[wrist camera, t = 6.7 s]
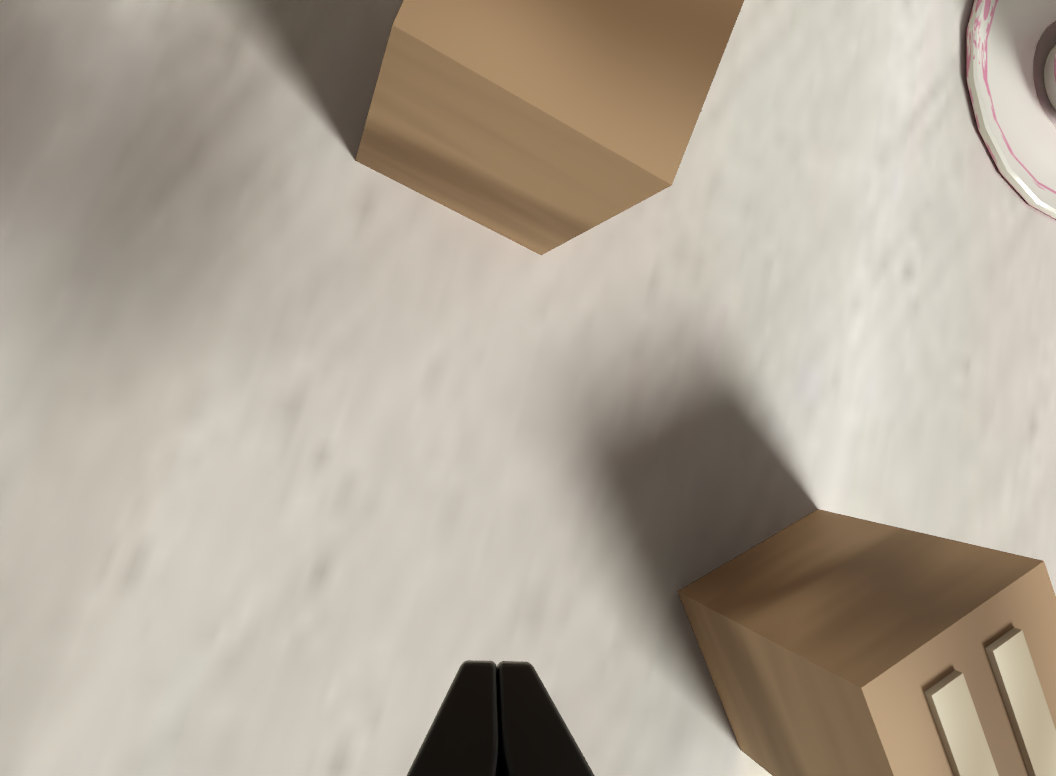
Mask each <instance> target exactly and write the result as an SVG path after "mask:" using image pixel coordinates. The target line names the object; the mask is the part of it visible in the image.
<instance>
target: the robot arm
mask: <svg viewBox="0 0 1056 776" xmlns="http://www.w3.org/2000/svg"><path fill="white" fill-rule="evenodd" d="M407 776H594V774H593V772H592V770H591V769H590V767H589V765H588V763H587V761H586V760H585V758H584V756H583V754H582V753H581V751H580V749H579V747H578V745H577V744H576V742H575V740H574V738H573V737H572V735H571V733H570V731H569V729H568V728H567V726H566V724H565V722H564V721H563V719H562V717H561V715H560V713H559V712H558V710H557V708H556V706H555V704H554V703H553V701H552V699H551V697H550V696H549V694H548V692H547V690H546V688H545V687H544V685H543V683H542V681H541V680H540V678H539V676H538V674H537V672H536V671H535V669H534V667H533V666H532V665H531V664H530V663H528V662H515V661H502V662H500V663H499V664H498V665H497V667H496V664H495V663H494V662H493V661H465V662H463V664H462V665H461V666H460V668H459V670H458V672H457V674H456V676H455V678H454V680H453V682H452V684H451V686H450V688H449V691H448V693H447V695H446V697H445V699H444V701H443V703H442V705H441V707H440V709H439V711H438V713H437V715H436V717H435V719H434V721H433V723H432V725H431V727H430V729H429V731H428V733H427V735H426V737H425V739H424V742H423V744H422V746H421V748H420V750H419V752H418V754H417V756H416V758H415V760H414V762H413V764H412V766H411V768H410V770H409V772H408V774H407Z"/></svg>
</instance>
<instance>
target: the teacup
mask: <svg viewBox="0 0 1056 776" xmlns="http://www.w3.org/2000/svg"><path fill="white" fill-rule="evenodd" d="M1055 21H1056V0H974V4H973V8H972V12H971V16H970V20H969V23H968V27H967V84H968V89H969V93H970V97H971V101H972V105H973V110H974V114H975V118H976V122H977V126H978V130H979V132H980V134H981V136H982V138H983V140H984V142H985V144H986V146H987V148H988V150H989V152H990V154H991V156H992V158H993V160H994V162H995V164H996V166H997V168H998V170H999V172H1000V173H1001V174H1002V175H1003V177H1004V178H1005V179H1006V180H1007V181H1008V182H1009V183H1010V184H1011V185H1012V186H1013V187H1014V189H1015V190H1016V191H1017V192H1018V193H1019V194H1020V195H1021V196H1022V197H1023V198H1024V200H1025V201H1026V202H1027V203H1028V204H1029V205H1030V206H1032V207H1034V208H1036V209H1038V210H1040V211H1041V212H1043V213H1045V214H1047V215H1049V216H1051V217H1052V218H1054V219H1056V127H1055V126H1054V124H1053V123H1052V122H1051V121H1050V120H1049V119H1048V117H1047V116H1046V115H1045V113H1044V111H1043V109H1042V107H1041V104H1040V102H1039V100H1038V98H1037V94H1036V89H1035V85H1034V81H1033V58H1034V54H1035V50H1036V46H1037V42H1038V41H1039V39H1040V37H1041V36H1042V34H1043V32H1044V31H1045V29H1046V28H1047V27H1049V26H1050V25H1051V24H1053V23H1054V22H1055ZM1044 83H1045V89H1046V92H1047V95H1048V98H1049V100H1050V102H1051V104H1052V105H1053V107H1054V108H1055V110H1056V45H1055V46H1054V47H1053V48H1052V50H1051V51H1050V53H1049V55H1048V57H1047V59H1046V63H1045V68H1044Z"/></svg>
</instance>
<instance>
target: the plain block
mask: <svg viewBox="0 0 1056 776" xmlns="http://www.w3.org/2000/svg"><path fill="white" fill-rule="evenodd" d="M743 2H744V0H404V1H403V3H402V5H401V7H400V9H399V12H398V14H397V16H396V18H395V20H394V23H393V25H392V28H391V32H390V36H389V39H388V43H387V47H386V50H385V54H384V58H383V61H382V65H381V68H380V72H379V76H378V79H377V83H376V87H375V90H374V94H373V98H372V101H371V105H370V109H369V112H368V116H367V120H366V123H365V127H364V131H363V134H362V138H361V142H360V145H359V149H358V152H357V156H356V161H357V162H359V163H361V164H363V165H365V166H367V167H369V168H371V169H373V170H375V171H377V172H379V173H381V174H383V175H385V176H387V177H389V178H391V179H393V180H395V181H397V182H399V183H401V184H403V185H405V186H407V187H408V188H410V189H412V190H414V191H416V192H418V193H420V194H422V195H424V196H426V197H428V198H430V199H432V200H434V201H436V202H438V203H440V204H442V205H444V206H446V207H448V208H450V209H452V210H454V211H456V212H458V213H460V214H461V215H463V216H465V217H467V218H469V219H471V220H473V221H475V222H477V223H479V224H481V225H483V226H485V227H487V228H489V229H491V230H493V231H495V232H497V233H499V234H501V235H503V236H505V237H507V238H509V239H511V240H512V241H514V242H516V243H518V244H520V245H522V246H524V247H526V248H528V249H530V250H532V251H534V252H536V253H538V254H540V255H542V254H544V253H546V252H548V251H550V250H552V249H554V248H555V247H557V246H559V245H561V244H563V243H565V242H567V241H569V240H570V239H572V238H574V237H576V236H578V235H580V234H582V233H583V232H585V231H587V230H589V229H591V228H593V227H595V226H597V225H598V224H600V223H602V222H604V221H606V220H608V219H610V218H611V217H613V216H615V215H617V214H619V213H621V212H623V211H624V210H626V209H628V208H630V207H632V206H634V205H636V204H638V203H639V202H641V201H643V200H645V199H647V198H649V197H651V196H652V195H654V194H656V193H658V192H660V191H662V190H664V189H665V188H667V187H669V186H671V185H672V183H673V180H674V178H675V175H676V173H677V170H678V168H679V165H680V163H681V160H682V158H683V155H684V152H685V150H686V147H687V145H688V142H689V140H690V137H691V135H692V132H693V129H694V127H695V124H696V122H697V119H698V117H699V114H700V112H701V109H702V106H703V104H704V101H705V99H706V96H707V94H708V91H709V89H710V86H711V84H712V81H713V78H714V76H715V73H716V71H717V68H718V66H719V63H720V61H721V58H722V55H723V53H724V50H725V48H726V45H727V43H728V40H729V38H730V35H731V33H732V30H733V27H734V25H735V22H736V20H737V17H738V15H739V12H740V10H741V7H742V4H743Z"/></svg>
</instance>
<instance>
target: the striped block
mask: <svg viewBox="0 0 1056 776" xmlns="http://www.w3.org/2000/svg"><path fill="white" fill-rule="evenodd" d="M678 594H679V597H680V599H681V602H682V604H683V607H684V609H685V612H686V614H687V617H688V619H689V622H690V624H691V627H692V629H693V632H694V634H695V637H696V639H697V642H698V644H699V647H700V649H701V652H702V654H703V657H704V659H705V662H706V664H707V667H708V669H709V672H710V674H711V677H712V679H713V682H714V684H715V687H716V689H717V692H718V694H719V697H720V699H721V702H722V704H723V707H724V709H725V712H726V715H727V717H728V720H729V722H730V725H731V727H732V730H733V732H734V735H735V737H736V740H737V742H738V745H739V747H740V750H741V751H743V752H744V753H745V754H746V755H748V756H749V757H750V758H751V759H753V760H754V761H755V762H756V763H758V764H759V765H760V766H761V767H763V768H764V769H765V770H766V771H768V772H769V773H770V774H771V775H773V776H1056V596H1055V593H1054V590H1053V587H1052V584H1051V581H1050V578H1049V575H1048V572H1047V569H1046V566H1045V563H1044V561H1042V560H1037V559H1033V558H1028V557H1024V556H1020V555H1015V554H1011V553H1007V552H1002V551H998V550H993V549H989V548H985V547H980V546H976V545H972V544H967V543H963V542H959V541H954V540H950V539H945V538H941V537H937V536H932V535H928V534H924V533H919V532H915V531H911V530H906V529H902V528H897V527H893V526H889V525H884V524H880V523H876V522H871V521H867V520H862V519H858V518H854V517H849V516H845V515H841V514H836V513H832V512H828V511H823V510H819V509H817V510H816V511H814V512H812V513H811V514H809V515H807V516H805V517H804V518H802V519H800V520H799V521H797V522H795V523H794V524H792V525H790V526H788V527H787V528H785V529H783V530H782V531H780V532H778V533H776V534H775V535H773V536H771V537H770V538H768V539H766V540H765V541H763V542H761V543H759V544H758V545H756V546H754V547H753V548H751V549H749V550H747V551H746V552H744V553H742V554H741V555H739V556H737V557H735V558H734V559H732V560H730V561H729V562H727V563H725V564H724V565H722V566H720V567H718V568H717V569H715V570H713V571H712V572H710V573H708V574H706V575H705V576H703V577H701V578H700V579H698V580H696V581H695V582H693V583H691V584H689V585H688V586H686V587H684V588H683V589H681V590H679V591H678Z"/></svg>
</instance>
